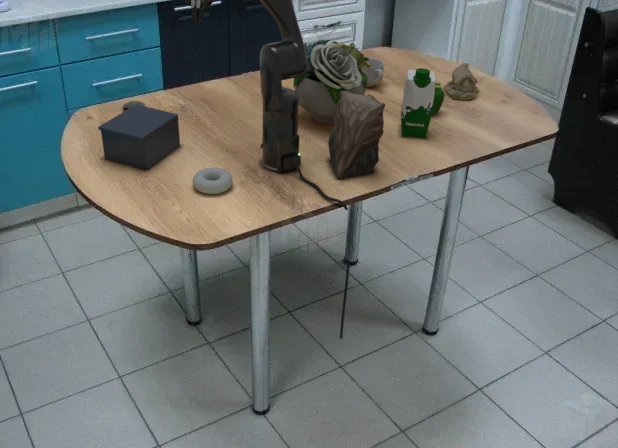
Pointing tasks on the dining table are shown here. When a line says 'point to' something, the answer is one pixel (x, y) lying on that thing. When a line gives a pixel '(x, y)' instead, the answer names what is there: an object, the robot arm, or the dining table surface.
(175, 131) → the chest
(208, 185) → the donut
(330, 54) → the flower arrangement
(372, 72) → the teacup
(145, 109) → the lid
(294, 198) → the dining table surface
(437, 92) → the bell pepper
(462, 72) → the ceramic model
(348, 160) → the brown rough block
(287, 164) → the robot arm
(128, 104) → the soupspoon
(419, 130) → the milk carton
